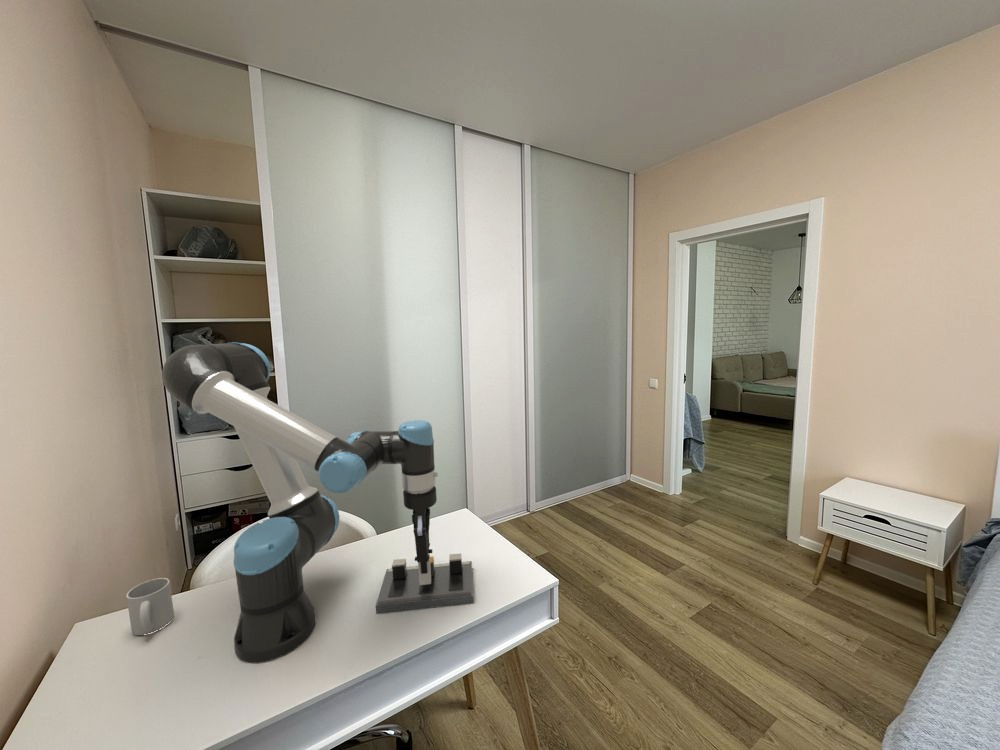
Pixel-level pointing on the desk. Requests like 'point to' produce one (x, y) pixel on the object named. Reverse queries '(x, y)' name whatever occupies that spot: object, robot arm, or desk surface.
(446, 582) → the panel
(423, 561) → the robot arm
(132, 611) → the cup
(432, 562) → the toggle
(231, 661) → the desk surface
